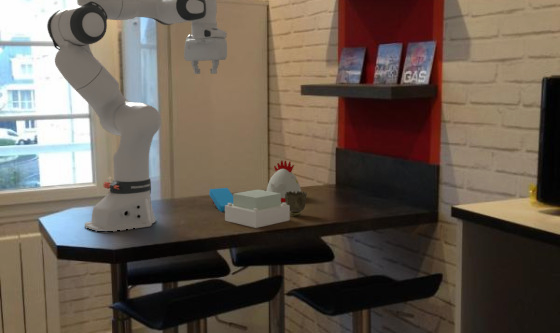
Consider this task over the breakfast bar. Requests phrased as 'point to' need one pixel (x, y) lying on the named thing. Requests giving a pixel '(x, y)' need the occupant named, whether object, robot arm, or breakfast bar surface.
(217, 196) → the blue long block
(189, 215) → the breakfast bar surface
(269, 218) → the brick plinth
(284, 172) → the kitchen timer
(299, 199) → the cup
